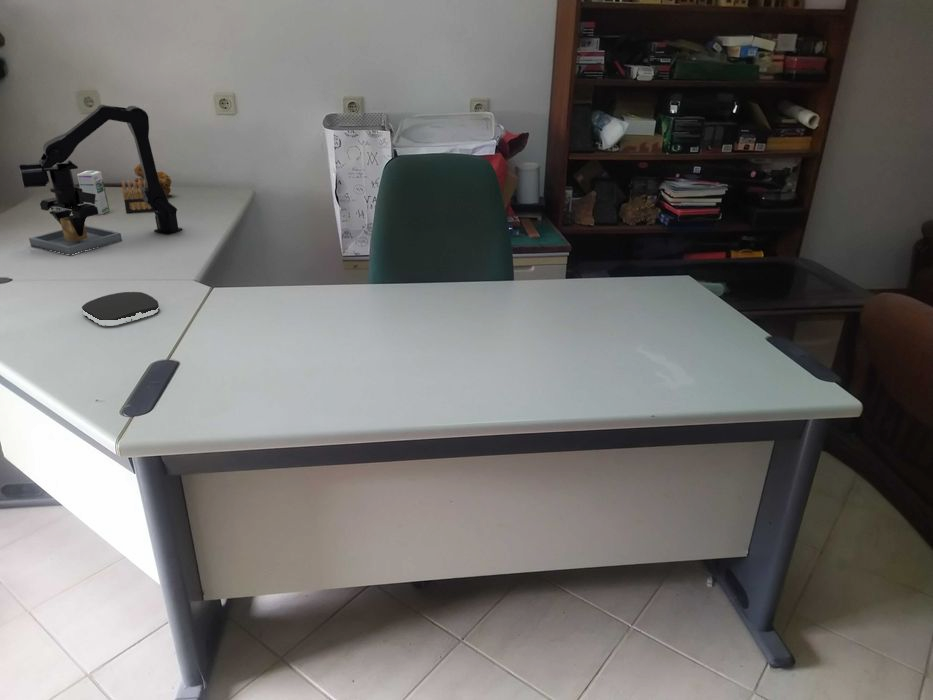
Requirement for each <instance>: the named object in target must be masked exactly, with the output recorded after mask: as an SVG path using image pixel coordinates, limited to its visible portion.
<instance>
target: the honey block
mask: <svg viewBox="0 0 933 700" xmlns="http://www.w3.org/2000/svg"><path fill="white" fill-rule="evenodd" d="M60 221H61V224H60V225H61V230H63V234H64V238H65V239H66V240H71V241H78V240H82V239H85V238H88V237H87V232H86V228H85V225H86V223H84V230H83V235H82V236H79V235H78V234H77V232H76V230H75V229H74V227H73V225H72V223H71V221H70V220H69V218H68V217H65V218H61V219H60Z"/></svg>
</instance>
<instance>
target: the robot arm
mask: <svg viewBox="0 0 933 700" xmlns="http://www.w3.org/2000/svg"><path fill="white" fill-rule="evenodd" d="M108 121H115V122H116V121H117V122H121V123H126V124H127V125H126V126H127V127H128V129H129V130H130V132H131V135H132V136H133V138H134V139H133V140H134V143H135V146H136V150H137V154H138V155H137V156H138V159H139V162H140V164H141V167H142V171H143V175H144V179H145V188H142V187H141V188H140V189H141V191H142V193H143V200H144V201H145V202H146V203H147V204H148V205H149V206H150V207H151V208H152V209H154V210H155V211H156V212H154V218H155V224H156V229H154V230H153V231H154V232H155V233H159V234H160V233H161V234H163V235H171V234H173V233H177V232H180V231H183V228H182V227H179V223H178V218H177V211H178V209H177V208H176V207H175V205H173V204H172V203H171V202H170V201H169V199H168V196H166V194H165V192H164V190H163V188H162V186H161V184H160V182H159V179H158V175H157V168H156V163H155V159H154V155H153V152H152V147H151V142H150V137H149V133H150V121H149V115H148V113H147V112H146V111H145V110H144V109H143V108H140V107H138V106H136V105H128V106H127V107H122V106H113V105H112V106H111V105H106V104H100V105H99V106H97V108H95V110H93V111H92V112H91V113H90V114H88V115H87V116H86V117H84V118H83V119H82V120H81V121H79V122H78V123H77V124H75V125H74V126H73V127H72V128H71V129H69V130H68V131H67V132H65V133H62V134H60V135H57V136H55V137H53V138H51V139H50V140H48V141H47V140H46V142H45V143H44V144H43V146H42V149H43V154H42V155H41V157H40V159H39V161H38V162H37V163H36V162H35V163H19V164H18V167H19V172H20V174H19V175H20V180H21V183H22V186H23V188H24V189H29V188H30V189H32V188H39V187H41V188H42V187H47V185H48V183H50V180H51V185H52V187H51V188H49V191H50V192H51V193H54V195H55V196H54V197H50V198H46V199H42V200H41V201H40V203H39V205H40V209H41V210H42V211H49V212H48V213H49V214H50V215H51V216H52V217H53V218H54V219H55V220H56V221H57V222H58V223H59V224H60V225H61V221H60V219H61V218H65V217H68V218H69V220H70V221H71V223H72V225H73V227H74V229H75V230H76V232H77V234H78V235H79V236H82V235H83V230H84V224H86V223H85V222H86V219H87V218H88V217H92V216H95V215H96V216H97V214H99V213H98V208H97V207H96V206H94V205H91V204H84V202H86V203H92V204H95V197H96V194H92V193H87V192H83V191H82V189H81V188H80V187H78V186H75V181H74V177H73V172H72V170H77V169H78V168H79V167H78V165H77V164H76V163H74V162H72V161H71V160H70V159H69V158H70V156H71V155H72V154H73V153H74V151H75V149H76V148H77V147H78V145H79V144H80V143H81V142H83V141H84V140H85V139H86V138H88V137H89V136H90V135H92V134H93V133H94V132H95V131H96V130H98V129H99V128H100V127H102V126H103V125H104V124H105V123H107V122H108ZM67 159H68V160H67ZM48 172H49V173H48ZM48 174H49V175H48ZM49 176H50V177H49ZM147 204H146V205H147ZM50 210H51V211H50ZM71 214H72V215H71Z"/></svg>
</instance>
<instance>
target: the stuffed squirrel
mask: <svg viewBox="0 0 933 700" xmlns="http://www.w3.org/2000/svg"><path fill="white" fill-rule="evenodd" d="M133 171H134V175H136V177H137V178H136V177H135V178H134V180H135V182H136V185H137V189H138V190H139V187H138V179H140V181H141V184H142V188H144V175H143V171H142V167H141V163H140V164H138V165H136V166H135V168H134V169H133ZM157 175H158V179H159V182H160V184H161V186H162V188H163V190H164V192H165V194H166V197H168V196H169V194H170V193H171V190H172V189H171V188H170V187H171V186H172V185H171V184H172V180H171V176H170V175H168V174H167V173H165V172H164V171H158V172H157Z"/></svg>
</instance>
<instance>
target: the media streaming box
mask: <svg viewBox="0 0 933 700" xmlns="http://www.w3.org/2000/svg"><path fill="white" fill-rule="evenodd" d="M158 307H159V308H160V306H159V302H158V300H157V299H156V298H154V297H153V296H151V295H149V294H147V293H146V292H145V293H144V292H140V291H124V292H122V291H121V292H117V293H111V294H107V295H104V296H101V297H98V298H95V299H92V300H90V301H88V302H86V303H84V304H83V305H82V307H81V310H82V309H83V310H84V311H85V312H87V313H88V314H90V315H92V316H93V317H95V318H97V319H99V320H118V319H121V318H126V317H131V316H135V315H136V313H139V312H141V313H142V314H143V313H146V312H148V311H151V310H156V309H157V308H158ZM83 310H82V311H83Z"/></svg>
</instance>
